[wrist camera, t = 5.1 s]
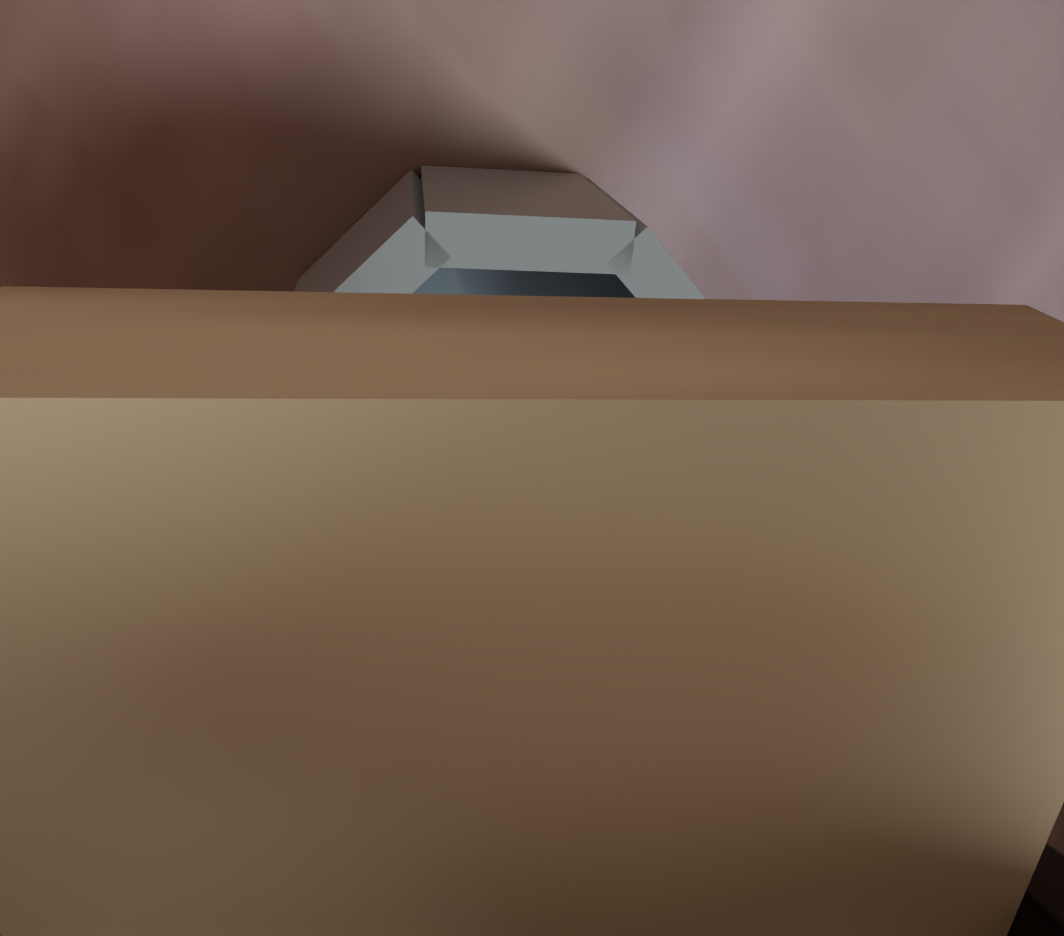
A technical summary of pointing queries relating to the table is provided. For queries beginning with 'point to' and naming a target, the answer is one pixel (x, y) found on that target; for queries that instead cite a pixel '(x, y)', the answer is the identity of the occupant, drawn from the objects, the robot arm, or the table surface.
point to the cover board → (526, 614)
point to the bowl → (499, 241)
